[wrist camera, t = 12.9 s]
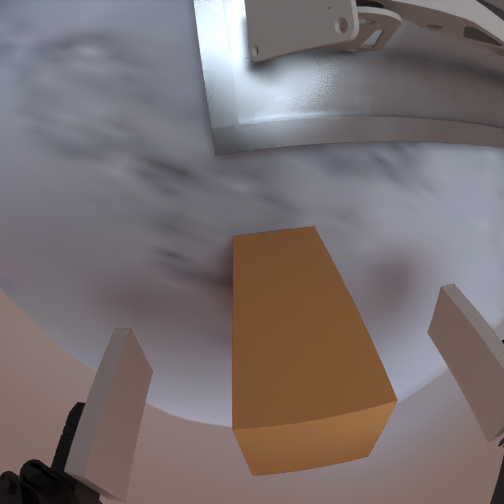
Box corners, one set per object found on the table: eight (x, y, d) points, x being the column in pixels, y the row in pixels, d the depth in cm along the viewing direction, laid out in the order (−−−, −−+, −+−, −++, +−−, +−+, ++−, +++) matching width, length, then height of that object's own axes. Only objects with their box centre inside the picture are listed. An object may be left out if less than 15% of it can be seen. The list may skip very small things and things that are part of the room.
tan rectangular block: (244, 300, 17) (252, 475, 8) (233, 236, 15) (232, 429, 6) (315, 290, 17) (367, 456, 8) (314, 226, 15) (397, 400, 6)
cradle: (219, 145, 13) (215, 155, 10) (194, -33, 8) (187, -53, 6) (560, 151, 12) (579, 160, 10) (556, 46, 8) (576, 49, 6)
